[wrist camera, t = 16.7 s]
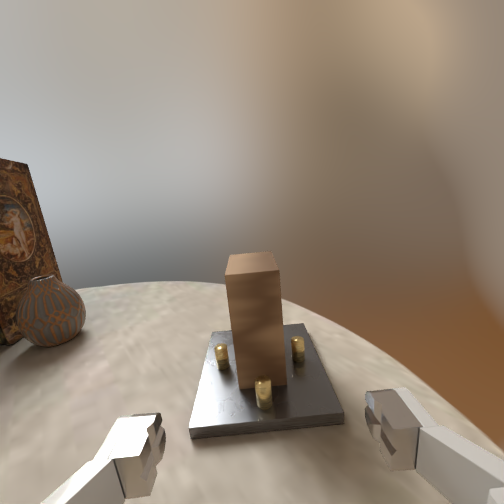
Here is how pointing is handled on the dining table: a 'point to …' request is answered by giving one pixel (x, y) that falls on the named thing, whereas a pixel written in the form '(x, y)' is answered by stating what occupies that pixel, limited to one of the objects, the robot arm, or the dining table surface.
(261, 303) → the board block
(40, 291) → the vase
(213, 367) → the pin plate
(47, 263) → the book
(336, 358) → the dining table surface
